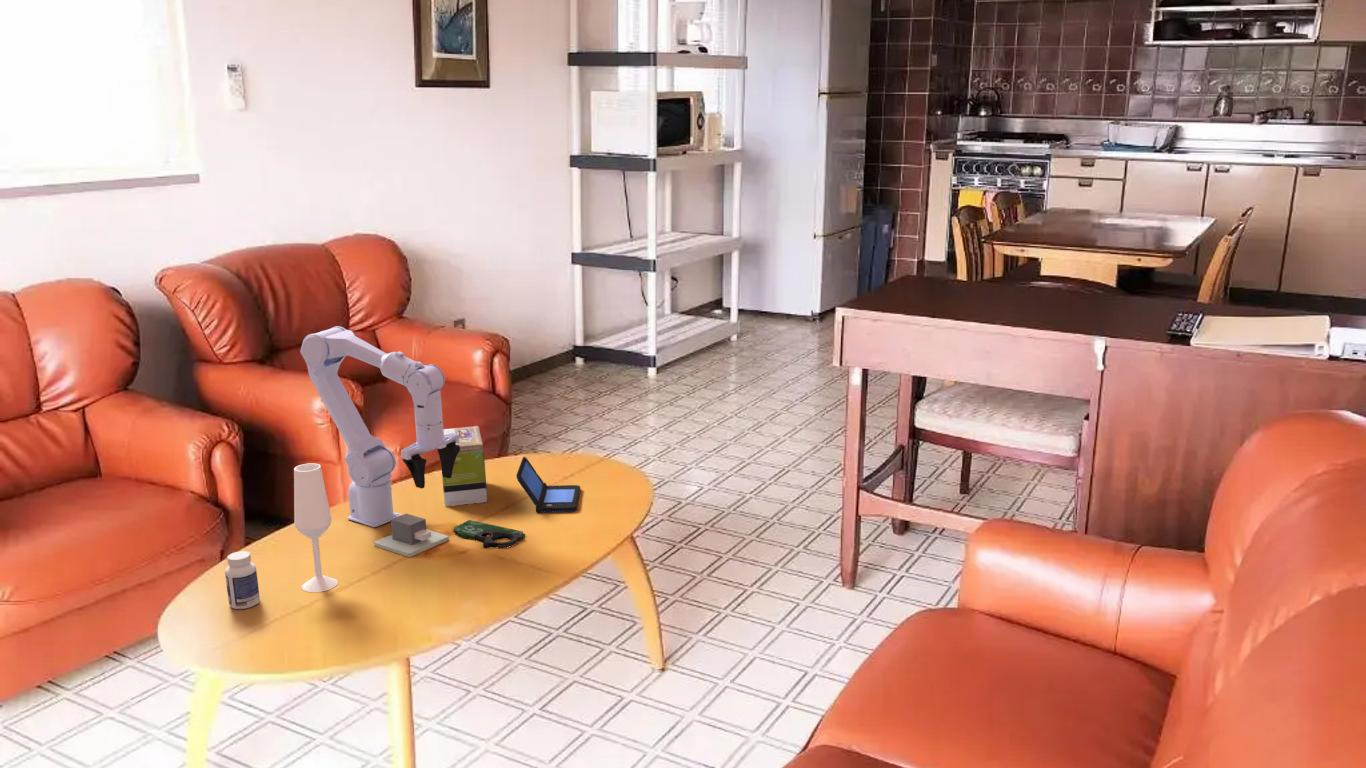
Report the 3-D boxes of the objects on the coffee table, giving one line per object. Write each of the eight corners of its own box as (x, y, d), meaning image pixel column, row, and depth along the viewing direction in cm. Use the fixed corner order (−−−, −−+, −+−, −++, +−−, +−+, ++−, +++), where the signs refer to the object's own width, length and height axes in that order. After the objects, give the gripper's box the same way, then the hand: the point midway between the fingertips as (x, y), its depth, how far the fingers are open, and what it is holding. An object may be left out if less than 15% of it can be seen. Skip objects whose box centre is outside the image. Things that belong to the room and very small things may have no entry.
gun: (440, 533, 232) (470, 518, 240) (441, 540, 232) (471, 524, 241) (501, 547, 224) (530, 531, 233) (501, 554, 224) (530, 537, 233)
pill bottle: (266, 599, 204) (260, 551, 202) (246, 611, 199) (240, 562, 197) (243, 595, 206) (237, 548, 204) (222, 607, 201) (216, 559, 199)
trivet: (373, 545, 228) (373, 542, 228) (413, 528, 237) (413, 525, 237) (409, 557, 222) (408, 553, 222) (449, 539, 231) (448, 536, 231)
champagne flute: (298, 593, 207) (285, 474, 200) (305, 578, 213) (292, 462, 207) (335, 590, 207) (322, 472, 201) (340, 576, 214) (328, 460, 208)
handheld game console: (576, 513, 245) (575, 475, 243) (517, 515, 245) (515, 476, 243) (580, 489, 261) (579, 453, 258) (525, 491, 260) (523, 454, 258)
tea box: (442, 486, 264) (437, 428, 260) (484, 482, 266) (480, 424, 262) (444, 507, 250) (439, 446, 246) (488, 503, 252) (484, 442, 248)
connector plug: (392, 539, 230) (390, 519, 229) (407, 532, 233) (406, 513, 232) (419, 547, 225) (418, 527, 224) (434, 540, 228) (433, 521, 227)
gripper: (415, 433, 224) (420, 495, 228) (467, 417, 235) (471, 476, 239) (392, 428, 228) (398, 489, 232) (445, 412, 239) (449, 470, 243)
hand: (433, 482), depth 235 cm, fingers open, 7 cm apart
